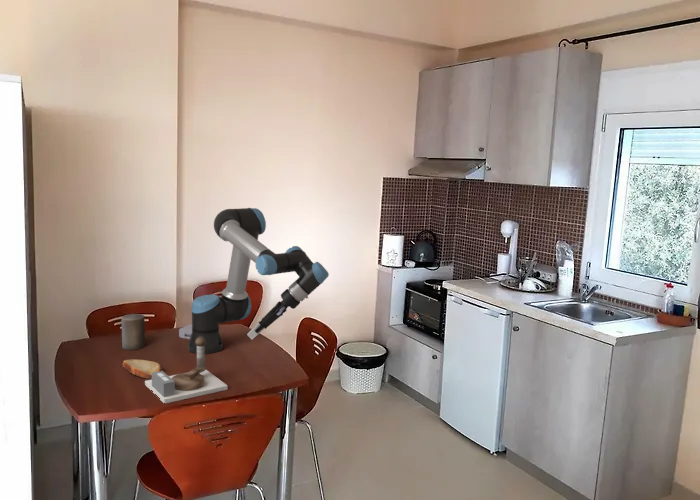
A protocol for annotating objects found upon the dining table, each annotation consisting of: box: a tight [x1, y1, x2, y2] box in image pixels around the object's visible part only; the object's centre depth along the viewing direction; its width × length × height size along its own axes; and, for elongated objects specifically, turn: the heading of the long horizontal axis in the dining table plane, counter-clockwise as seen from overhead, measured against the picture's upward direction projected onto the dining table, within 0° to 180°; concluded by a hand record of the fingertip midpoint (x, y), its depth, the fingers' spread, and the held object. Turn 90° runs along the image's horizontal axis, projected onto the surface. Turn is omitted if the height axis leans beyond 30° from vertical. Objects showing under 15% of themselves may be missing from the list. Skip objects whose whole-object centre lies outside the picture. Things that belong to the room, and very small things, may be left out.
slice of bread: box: [122, 358, 164, 380], centre depth 238 cm, size 18×18×4 cm
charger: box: [178, 323, 192, 340], centre depth 287 cm, size 5×9×15 cm
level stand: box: [144, 369, 229, 404], centre depth 224 cm, size 20×24×7 cm
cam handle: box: [171, 337, 207, 390], centre depth 224 cm, size 17×12×16 cm
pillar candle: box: [120, 313, 146, 351], centre depth 265 cm, size 10×10×15 cm
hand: (249, 336), depth 230 cm, fingers closed
